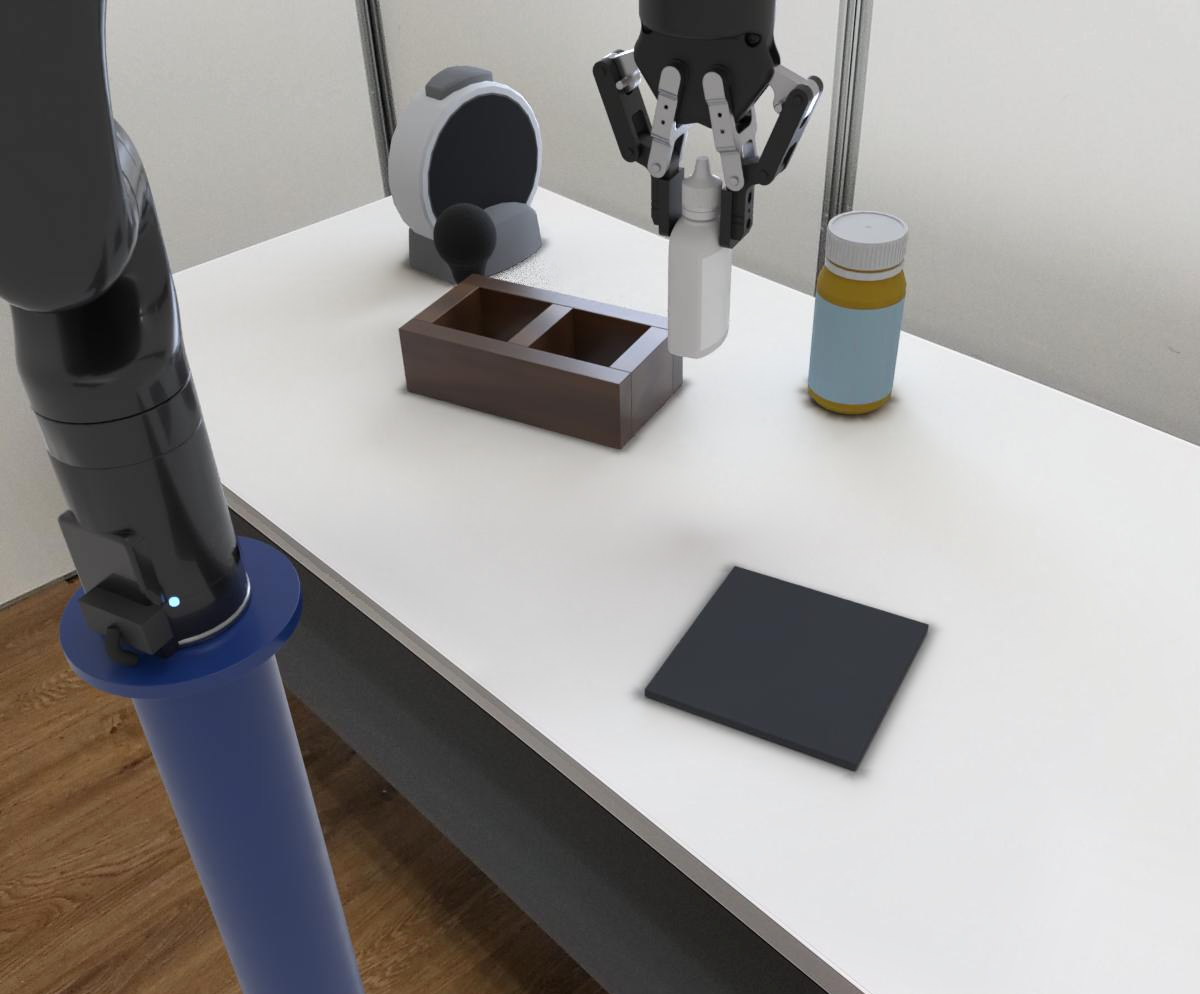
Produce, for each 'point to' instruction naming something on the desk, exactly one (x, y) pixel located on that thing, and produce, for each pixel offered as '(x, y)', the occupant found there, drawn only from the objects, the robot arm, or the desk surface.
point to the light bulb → (465, 239)
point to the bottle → (858, 312)
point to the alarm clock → (467, 165)
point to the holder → (542, 358)
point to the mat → (790, 665)
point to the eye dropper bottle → (698, 269)
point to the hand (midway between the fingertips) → (701, 236)
